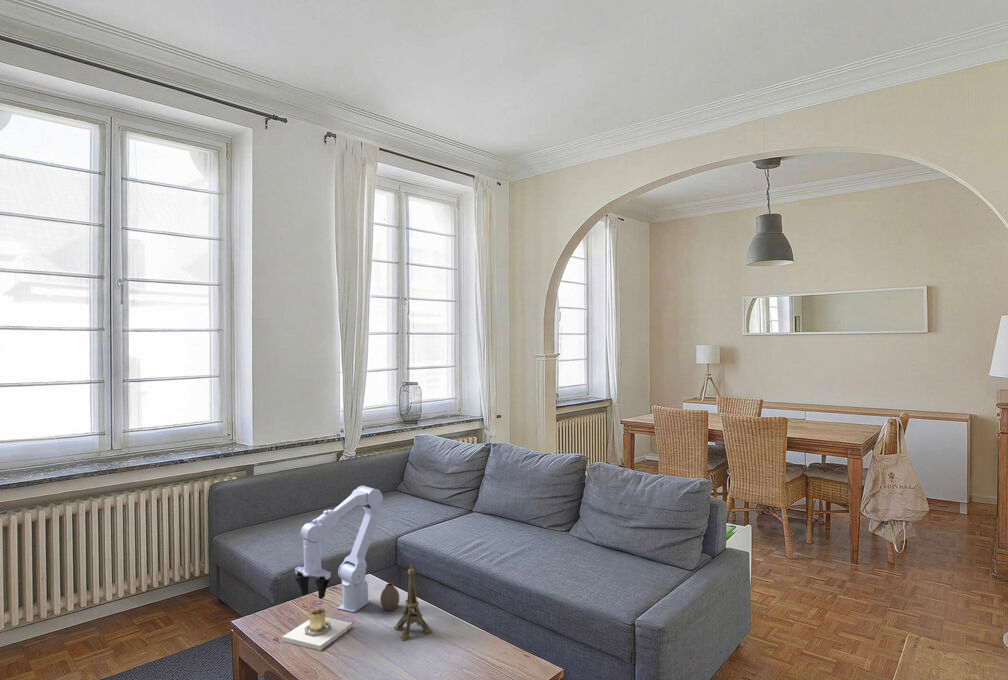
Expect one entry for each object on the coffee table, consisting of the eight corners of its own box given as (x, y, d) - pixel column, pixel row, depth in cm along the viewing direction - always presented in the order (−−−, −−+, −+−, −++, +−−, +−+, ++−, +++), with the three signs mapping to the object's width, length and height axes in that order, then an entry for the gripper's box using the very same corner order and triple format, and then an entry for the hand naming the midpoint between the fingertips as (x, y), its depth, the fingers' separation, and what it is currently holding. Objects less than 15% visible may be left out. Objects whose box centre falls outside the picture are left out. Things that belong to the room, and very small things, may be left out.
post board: (316, 619, 211) (315, 602, 211) (352, 627, 205) (351, 610, 205) (282, 641, 197) (281, 623, 197) (320, 650, 190) (319, 631, 190)
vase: (383, 614, 214) (383, 590, 214) (378, 606, 220) (377, 583, 220) (402, 609, 217) (401, 585, 217) (396, 602, 223) (395, 579, 223)
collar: (317, 625, 204) (316, 607, 204) (328, 627, 202) (328, 610, 202) (306, 631, 199) (306, 614, 199) (318, 634, 197) (317, 616, 197)
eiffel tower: (393, 627, 204) (391, 555, 204) (422, 620, 209) (420, 549, 209) (402, 641, 195) (400, 566, 194) (432, 633, 200) (430, 559, 199)
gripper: (288, 559, 208) (289, 597, 208) (320, 564, 202) (321, 604, 202) (302, 552, 215) (303, 589, 215) (334, 557, 209) (335, 595, 209)
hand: (313, 596), depth 209 cm, fingers open, 7 cm apart
